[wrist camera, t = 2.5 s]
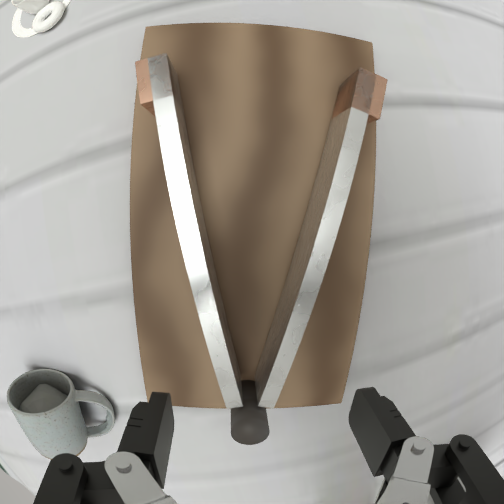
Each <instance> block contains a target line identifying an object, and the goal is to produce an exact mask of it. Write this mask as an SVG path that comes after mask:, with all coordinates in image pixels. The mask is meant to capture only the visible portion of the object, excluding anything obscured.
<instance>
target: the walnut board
mask: <svg viewBox="0 0 504 504" xmlns="http://www.w3.org/2000/svg"><path fill="white" fill-rule="evenodd" d="M164 53H167V55H168V57H169V59H170V61H171V63H172V65H173V67H174V69H175V71H176V73H177V76H178V82H179V88H180V94H181V100H182V106H183V112H184V118H185V123H186V129H187V135H188V140H189V145H190V151H191V156H192V161H193V167H194V172H195V177H196V182H197V187H198V192H199V197H200V202H201V207H202V212H203V217H204V221H205V226H206V231H207V235H208V240H209V245H210V249H211V254H212V258H213V263H214V267H215V272H216V276H217V280H218V285H219V289H220V293H221V297H222V302H223V306H224V310H225V314H226V318H227V322H228V327H229V331H230V335H231V339H232V343H233V347H234V351H235V354H236V358H237V362H238V366H239V370H240V374H241V383H242V400H243V406H242V407H236V408H229V409H231V435H232V438H233V439H234V440H235V441H237V442H239V443H241V444H246V445H252V444H257V443H260V442H262V441H264V440H265V439H266V438H267V437H268V435H269V426H268V419H267V413H266V408H267V407H260V406H258V402H257V394H256V386H255V378H254V376H255V373H256V370H257V367H258V364H259V361H260V358H261V355H262V352H263V349H264V346H265V343H266V340H267V337H268V334H269V331H270V328H271V325H272V322H273V319H274V316H275V313H276V310H277V307H278V304H279V301H280V297H281V294H282V291H283V288H284V285H285V282H286V278H287V275H288V272H289V269H290V265H291V262H292V259H293V256H294V252H295V249H296V246H297V242H298V239H299V236H300V232H301V229H302V225H303V222H304V218H305V215H306V212H307V208H308V205H309V201H310V197H311V194H312V190H313V187H314V183H315V180H316V176H317V172H318V169H319V165H320V161H321V157H322V154H323V150H324V146H325V142H326V139H327V135H328V131H329V127H330V123H331V119H332V115H333V111H334V107H335V103H336V99H337V95H338V91H339V87H340V84H341V83H342V82H343V81H345V80H346V79H347V78H348V77H349V76H350V75H351V74H353V73H354V72H355V71H356V70H357V69H359V68H360V67H361V68H363V69H366V70H368V71H370V72H372V73H374V58H373V46H372V43H371V42H367V41H363V40H359V39H355V38H350V37H346V36H341V35H336V34H331V33H325V32H320V31H313V30H307V29H300V28H292V27H283V26H273V25H261V24H244V23H189V24H172V25H160V26H150V27H146V29H145V35H144V40H143V46H142V53H141V59H140V60H143V59H146V58H150V57H153V56H157V55H161V54H164ZM375 160H376V121H373V122H371V123H368V124H366V128H365V132H364V137H363V141H362V145H361V149H360V153H359V157H358V161H357V165H356V169H355V173H354V177H353V180H352V184H351V188H350V191H349V195H348V199H347V202H346V206H345V209H344V213H343V216H342V220H341V223H340V226H339V230H338V233H337V236H336V240H335V243H334V246H333V249H332V252H331V256H330V259H329V262H328V265H327V268H326V271H325V274H324V277H323V280H322V283H321V286H320V289H319V292H318V295H317V298H316V301H315V304H314V306H313V309H312V312H311V315H310V318H309V320H308V323H307V326H306V329H305V331H304V334H303V337H302V339H301V342H300V345H299V347H298V350H297V353H296V355H295V358H294V360H293V363H292V365H291V368H290V370H289V373H288V375H287V378H286V380H285V383H284V385H283V388H282V390H281V393H280V395H279V397H278V400H277V402H276V404H275V407H274V408H288V407H305V406H317V405H328V404H338V403H341V402H342V398H343V394H344V390H345V386H346V382H347V377H348V373H349V368H350V364H351V359H352V354H353V350H354V345H355V339H356V334H357V329H358V323H359V318H360V312H361V306H362V299H363V293H364V286H365V279H366V271H367V264H368V255H369V246H370V237H371V226H372V214H373V201H374V184H375ZM130 239H131V263H132V280H133V293H134V305H135V316H136V325H137V334H138V342H139V350H140V357H141V364H142V371H143V377H144V383H145V389H146V395H147V400H148V402H149V399H150V396H151V393H152V392H164V393H170V395H171V402H172V406H183V407H199V408H226V405H225V402H224V399H223V396H222V393H221V390H220V387H219V383H218V380H217V377H216V374H215V371H214V367H213V364H212V361H211V357H210V354H209V351H208V347H207V344H206V340H205V337H204V333H203V330H202V326H201V323H200V319H199V315H198V312H197V308H196V304H195V300H194V297H193V293H192V289H191V285H190V281H189V277H188V273H187V269H186V265H185V261H184V257H183V252H182V248H181V244H180V240H179V235H178V231H177V226H176V222H175V217H174V212H173V208H172V203H171V198H170V193H169V188H168V183H167V178H166V173H165V168H164V162H163V157H162V151H161V146H160V140H159V134H158V128H157V122H156V117H155V116H154V115H152V114H151V113H150V112H149V111H148V110H147V109H145V108H144V107H143V106H142V105H141V104H140V98H139V90H138V82H137V90H136V99H135V109H134V120H133V133H132V150H131V173H130Z"/></svg>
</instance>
